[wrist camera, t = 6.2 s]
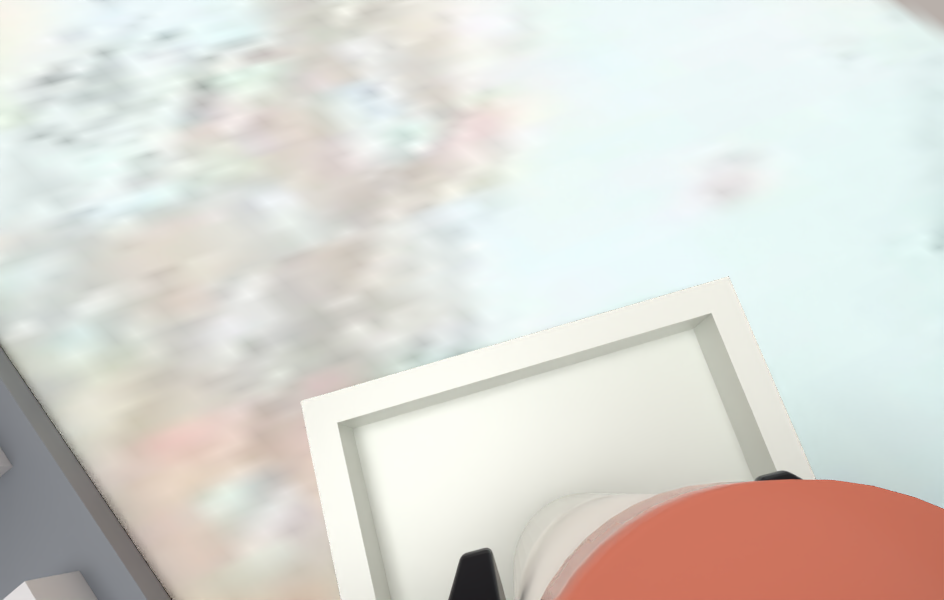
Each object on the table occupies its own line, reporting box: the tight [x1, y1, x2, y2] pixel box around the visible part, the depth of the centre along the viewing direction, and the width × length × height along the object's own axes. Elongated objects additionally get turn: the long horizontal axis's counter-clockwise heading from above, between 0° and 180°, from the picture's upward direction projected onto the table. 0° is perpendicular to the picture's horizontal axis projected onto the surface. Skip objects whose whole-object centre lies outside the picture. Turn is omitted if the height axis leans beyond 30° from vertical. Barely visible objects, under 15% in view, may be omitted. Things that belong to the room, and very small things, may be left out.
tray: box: [300, 276, 816, 600], centre depth 16 cm, size 12×12×2 cm
